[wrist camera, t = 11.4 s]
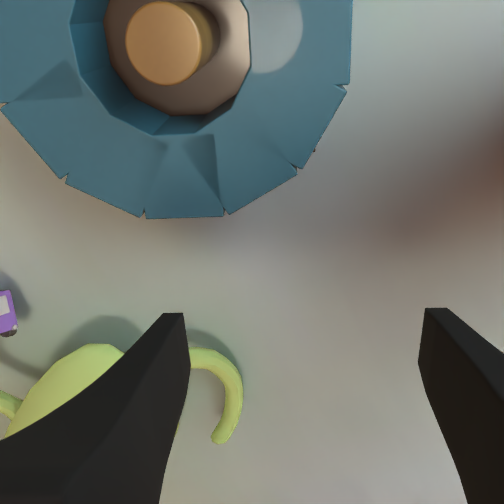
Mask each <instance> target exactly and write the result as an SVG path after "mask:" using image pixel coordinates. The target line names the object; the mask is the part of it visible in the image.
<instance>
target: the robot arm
mask: <svg viewBox="0 0 504 504" xmlns="http://www.w3.org/2000/svg"><path fill="white" fill-rule="evenodd" d="M418 365H419V369H420V373H421V377H422V381H423V385H424V388H425V392H426V395H427V397H428V400H429V402H430V405H431V407H432V410H433V412H434V415H435V417H436V419H437V422H438V424H439V427H440V429H441V431H442V434H443V436H444V439H445V441H446V443H447V446H448V448H449V451H450V453H451V455H452V458H453V460H454V463H455V465H456V468H457V471H458V474H459V476H460V479H461V483H462V486H463V489H464V493H465V496H466V499H467V503H468V504H504V354H503V353H502V352H501V351H499V350H498V349H497V348H496V347H494V346H493V345H492V344H491V343H489V342H488V341H487V340H485V339H484V338H483V337H482V336H481V335H479V334H478V333H477V332H476V331H474V330H473V329H472V328H471V327H470V326H468V325H467V324H466V323H465V322H464V321H462V320H461V319H460V318H459V317H458V316H456V315H455V314H454V313H453V312H452V311H450V310H449V309H448V308H425V313H424V321H423V328H422V335H421V343H420V350H419V357H418ZM190 369H191V361H190V354H189V348H188V342H187V335H186V329H185V323H184V316H183V313H163V314H162V315H161V316H160V317H159V318H158V319H157V320H156V321H155V322H154V323H153V324H152V326H151V327H150V328H149V329H148V330H147V331H146V332H145V333H144V334H143V335H142V336H141V337H140V338H139V340H138V341H137V342H136V343H135V344H134V345H133V346H132V347H131V348H130V349H129V350H128V351H127V352H126V353H125V354H124V355H123V356H122V357H121V358H120V359H119V360H118V361H117V362H115V363H114V364H113V365H112V366H111V367H110V368H109V369H108V370H107V371H106V372H105V373H104V374H102V375H101V376H100V377H99V378H98V379H96V380H95V381H94V382H93V383H92V384H90V385H89V386H88V387H86V388H85V389H84V390H82V391H81V392H80V393H78V394H77V395H76V396H74V397H73V398H72V399H70V400H69V401H67V402H66V403H64V404H63V405H61V406H59V407H58V408H56V409H55V410H53V411H52V412H50V413H49V414H47V415H46V416H44V417H43V418H41V419H39V420H38V421H36V422H34V423H32V424H31V425H29V426H27V427H25V428H24V429H22V430H20V431H18V432H16V433H14V434H13V435H11V436H9V437H7V438H5V439H3V440H1V441H0V504H159V500H160V494H161V489H162V483H163V478H164V473H165V469H166V465H167V461H168V457H169V454H170V450H171V447H172V444H173V440H174V437H175V433H176V430H177V426H178V423H179V420H180V416H181V413H182V409H183V406H184V402H185V398H186V395H187V389H188V383H189V376H190Z"/></svg>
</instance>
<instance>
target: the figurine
mask: <svg viewBox="0 0 504 504" xmlns="http://www.w3.org/2000/svg"><path fill="white" fill-rule="evenodd" d="M17 328H18V324H17V319H16V315H15V310H14V306H13V301H12V296H11V292H10V290H6V291H0V334H1V336H2V337H9V336H13V335H14V334H15V333H16V332H17ZM124 354H125V353H123V352H121V351H120V350H118V349H117V348H115V347H114V346H112V345H110V344H90V343H88V344H86V345H84V346H82V347H81V348H79V349H77V350H76V351H74V352H72V353H70V354H69V355H67V356H65V357H64V358H62V359H60V360H58V361H57V362H55V364H54V365H53V366H52V367H51V368H50V369H49V370H48V371H47V372H46V373H45V374H44V375H43V376H42V378H41V379H40V380H39V381H38V382H37V383H36V384H35V385H34V386H33V387H32V388H31V389H30V391H29V392H28V394H27V396H26V397H25V399H24V401H22V400H20V399H18V398H16V397H14V396H12V395H10V394H7V393H5V392H3V391H1V390H0V412H1V413H3V414H5V415H6V416H7V417H8V418H9V419H10V420H11V423H10V425H9V426H8V429H7V432H6V435H5V438H7V437H9V436H11V435H13V434H14V433H16V432H18V431H20V430H22V429H24V428H25V427H27V426H29V425H31V424H32V423H34V422H36V421H38V420H39V419H41V418H43V417H44V416H46V415H47V414H49V413H50V412H52V411H53V410H55V409H56V408H58V407H59V406H61V405H63V404H64V403H66V402H67V401H69V400H70V399H72V398H73V397H74V396H76V395H77V394H78V393H80V392H81V391H82V390H84V389H85V388H86V387H88V386H89V385H90V384H92V383H93V382H94V381H95V380H96V379H98V378H99V377H100V376H101V375H102V374H104V373H105V372H106V371H107V370H108V369H109V368H110V367H111V366H112V365H113V364H114V363H115V362H117V361H118V360H119V359H120V358H121V357H122V356H123V355H124ZM189 354H190V361H191V369H193V368H201V369H207V370H209V371H210V372H212V373H213V374H215V375H216V376H217V377H218V378H219V379H220V380H221V381H222V382H223V384H224V386H225V395H226V399H225V406H224V411H223V414H222V417H221V420H220V422H219V423H218V425H217V426H216V428H215V430H214V431H213V433H212V435H211V439H212V442H214V443H216V444H222V443H225V442H226V441H227V440H228V439H229V438H230V436H231V435H232V433H233V431H234V429H235V428H236V426H237V424H238V420H239V417H240V414H241V410H242V402H243V387H242V379H241V376H240V374H239V372H238V370H237V368H236V367H235V366H234V365H233V364H232V363H231V362H230V361H229V360H228V359H227V358H226V357H224V356H223V355H221V354H220V353H218V352H217V351H215V350H213V349H207V348H200V347H189ZM178 427H179V423H178V426H177V430H176V433H177V431H178ZM176 433H175V435H176ZM5 438H4V439H5Z"/></svg>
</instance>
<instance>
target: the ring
mask: <svg viewBox="0 0 504 504" xmlns="http://www.w3.org/2000/svg"><path fill="white" fill-rule="evenodd" d="M240 1H241V3H242V5H243V7H244V8H245V10H246V12H247V16H248V34H249V52H250V67H249V69H248V72H247V74H246V76H245V78H244V80H243V82H242V84H241V87H240V89H239V91H238V93H237V94H236V95H234V96H233V97H231V98H230V99H229V100H227V101H226V102H224V103H223V104H221V105H220V106H218V107H217V108H215V109H214V110H213V111H211V112H210V113H208V114H205V115H185V116H169V115H167V114H165V113H163V112H161V111H159V110H157V109H155V108H153V107H151V106H149V105H147V104H145V103H143V102H141V101H139V100H137V99H135V97H134V96H133V95H132V93H131V92H130V91H129V89H128V88H127V86H126V85H125V84H124V82H123V81H122V80H121V78H120V77H119V76H118V74H117V73H116V72H115V70H114V69H113V67H112V66H111V63H110V58H109V53H108V47H107V42H106V37H105V31H104V26H103V19H104V16H105V12H106V9H107V6H108V3H109V0H0V103H7V104H5V105H4V106H3V107H2V108H1V109H0V111H1V112H2V113H3V114H4V115H5V117H6V118H7V119H8V120H9V121H10V122H11V124H12V125H13V126H14V127H15V128H16V129H17V130H18V132H19V133H20V134H21V135H22V136H23V137H24V139H25V140H26V141H27V142H28V143H29V144H30V145H31V147H32V148H33V149H34V150H35V151H36V152H37V154H38V155H39V156H40V157H41V158H42V159H43V160H44V162H45V163H46V164H47V165H48V166H49V167H50V169H51V170H52V171H53V172H54V173H55V174H56V175H57V177H58V178H59V179H62V178H63V177H64V176H66V175H67V174H68V175H67V178H66V182H65V183H66V184H67V185H69V186H72V187H74V188H76V189H78V190H80V191H82V192H85V193H87V194H89V195H91V196H93V197H96V198H98V199H100V200H102V201H104V202H106V203H109V204H111V205H113V206H115V207H117V208H119V209H122V210H124V211H126V212H128V213H130V214H132V215H135V216H137V217H139V218H140V217H141V216H142V215H143V213H144V212H145V217H146V219H167V218H198V217H223V216H224V213H225V210H226V212H227V213H228V214H229V215H230V214H232V213H234V212H235V211H237V210H239V209H240V208H242V207H244V206H245V205H247V204H249V203H250V202H252V201H254V200H255V199H257V198H259V197H261V196H262V195H264V194H266V193H267V192H269V191H271V190H272V189H274V188H276V187H277V186H279V185H281V184H282V183H284V182H286V181H287V180H289V179H291V178H292V177H294V176H296V175H297V167H298V168H300V169H303V168H304V166H305V164H306V162H307V161H308V159H309V157H310V155H311V154H312V152H313V150H314V148H315V147H316V145H317V143H318V142H319V140H320V138H321V136H322V135H323V133H324V131H325V129H326V128H327V126H328V124H329V123H330V121H331V119H332V117H333V116H334V114H335V112H336V110H337V109H338V107H339V105H340V104H341V102H342V100H343V98H344V97H345V95H346V93H347V91H346V90H345V89H344V87H343V86H342V85H348V84H349V83H350V59H351V32H352V6H353V0H240Z"/></svg>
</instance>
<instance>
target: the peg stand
mask: <svg viewBox="0 0 504 504" xmlns="http://www.w3.org/2000/svg"><path fill="white" fill-rule="evenodd" d="M103 26H104V31H105V37H106V42H107V47H108V53H109V58H110V63H111V66H112V67H113V69H114V70H115V72H116V73H117V74H118V76H119V77H120V78H121V80H122V81H123V82H124V84H125V85H126V86H127V88H128V89H129V91H130V92H131V93H132V95H133V96H134V97H135V99H137V100H139V101H141V102H143V103H145V104H147V105H149V106H151V107H153V108H155V109H157V110H159V111H161V112H163V113H165V114H167V115H169V116H185V115H205V114H208V113H210V112H211V111H213V110H214V109H215V108H217V107H218V106H220V105H221V104H223V103H224V102H226V101H227V100H229V99H230V98H231V97H233V96H234V95H236V94H237V93H238V91H239V89H240V87H241V84H242V82H243V80H244V78H245V76H246V74H247V72H248V69H249V67H250V52H249V34H248V16H247V12H246V10H245V8H244V7H243V5H242V3H241V1H240V0H109V3H108V6H107V9H106V12H105V16H104V19H103ZM313 152H315V148H314V150H313Z"/></svg>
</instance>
